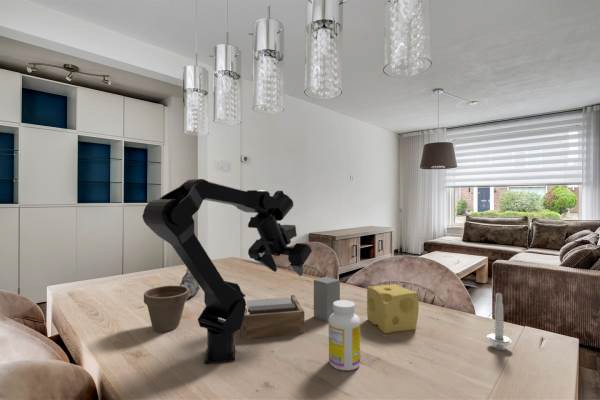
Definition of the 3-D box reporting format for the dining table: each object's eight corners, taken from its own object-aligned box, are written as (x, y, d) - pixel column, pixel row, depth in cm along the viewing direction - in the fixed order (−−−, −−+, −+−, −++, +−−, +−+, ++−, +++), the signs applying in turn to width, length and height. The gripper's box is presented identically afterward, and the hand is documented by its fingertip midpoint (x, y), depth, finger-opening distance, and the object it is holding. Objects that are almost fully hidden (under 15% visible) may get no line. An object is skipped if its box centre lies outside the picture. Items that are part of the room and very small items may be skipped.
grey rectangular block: (327, 321, 88) (327, 283, 88) (313, 316, 92) (313, 279, 92) (339, 317, 92) (339, 280, 92) (326, 312, 96) (326, 276, 96)
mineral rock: (186, 302, 106) (186, 273, 106) (161, 299, 109) (161, 270, 109) (209, 291, 118) (209, 265, 118) (186, 289, 121) (186, 263, 121)
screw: (514, 348, 72) (506, 354, 70) (492, 341, 76) (483, 346, 73) (514, 293, 72) (506, 297, 69) (492, 288, 76) (483, 291, 73)
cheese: (384, 334, 80) (384, 296, 80) (365, 319, 91) (365, 284, 91) (419, 330, 83) (419, 292, 83) (396, 315, 93) (396, 282, 93)
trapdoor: (296, 317, 83) (296, 307, 83) (248, 321, 80) (248, 310, 80) (289, 303, 94) (289, 294, 94) (246, 306, 91) (246, 297, 91)
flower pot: (198, 324, 87) (198, 288, 87) (161, 340, 77) (161, 299, 77) (171, 316, 93) (171, 282, 93) (134, 330, 83) (134, 292, 83)
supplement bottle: (356, 355, 69) (356, 298, 69) (363, 371, 63) (363, 308, 63) (326, 355, 69) (326, 298, 69) (330, 372, 63) (330, 309, 63)
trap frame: (304, 332, 81) (304, 311, 81) (242, 338, 78) (242, 316, 78) (293, 313, 95) (293, 294, 95) (241, 317, 92) (241, 298, 92)
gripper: (311, 214, 84) (327, 257, 91) (259, 212, 94) (277, 251, 102) (292, 241, 76) (310, 285, 84) (237, 236, 87) (258, 276, 94)
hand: (288, 272), depth 91 cm, fingers open, 9 cm apart
